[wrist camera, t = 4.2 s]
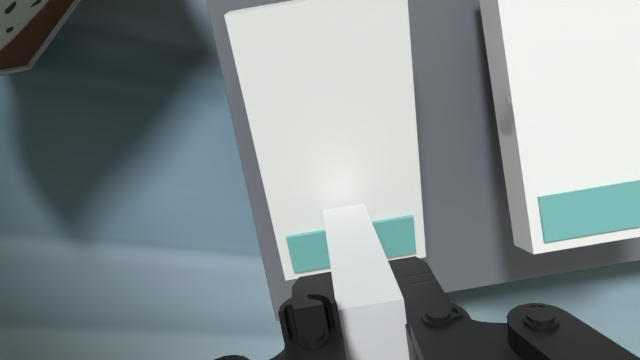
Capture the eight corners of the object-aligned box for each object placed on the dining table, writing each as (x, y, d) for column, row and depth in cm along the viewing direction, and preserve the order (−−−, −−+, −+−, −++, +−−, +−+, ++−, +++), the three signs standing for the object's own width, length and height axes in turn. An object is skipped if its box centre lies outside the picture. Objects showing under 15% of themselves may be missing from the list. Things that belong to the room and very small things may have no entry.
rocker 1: (230, 11, 15) (223, 15, 14) (395, -18, 15) (407, -17, 14) (285, 257, 20) (285, 283, 18) (415, 236, 19) (427, 259, 18)
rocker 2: (476, -17, 17) (494, -36, 15) (625, -42, 17) (660, -64, 15) (514, 245, 18) (535, 255, 16) (658, 220, 18) (694, 228, 16)
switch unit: (210, -51, 21) (179, -86, 16) (775, -149, 21) (938, -218, 15) (279, 280, 26) (274, 339, 20) (743, 202, 25) (860, 242, 20)
